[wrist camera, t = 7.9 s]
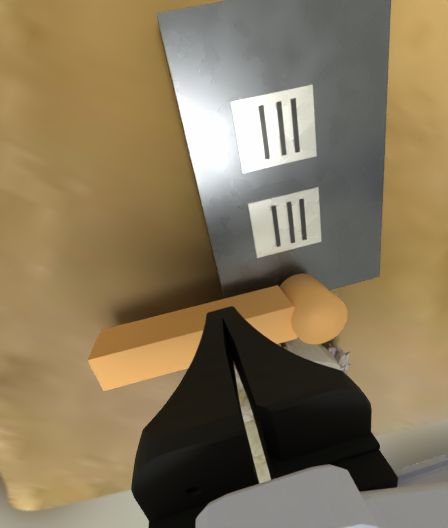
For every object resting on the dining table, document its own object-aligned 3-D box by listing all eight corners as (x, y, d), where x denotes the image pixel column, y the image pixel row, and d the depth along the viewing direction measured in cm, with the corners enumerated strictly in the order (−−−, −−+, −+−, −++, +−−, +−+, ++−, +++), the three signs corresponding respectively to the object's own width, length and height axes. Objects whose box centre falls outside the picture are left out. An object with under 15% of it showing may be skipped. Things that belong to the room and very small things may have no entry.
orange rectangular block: (319, 268, 19) (347, 290, 16) (321, 308, 21) (347, 336, 17) (98, 324, 18) (81, 359, 15) (116, 363, 19) (104, 403, 16)
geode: (269, 276, 28) (167, 376, 27) (297, 281, 18) (143, 434, 18) (377, 389, 28) (279, 489, 28) (460, 450, 19) (313, 605, 18)
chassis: (373, -14, 15) (402, -39, 13) (367, 269, 23) (385, 280, 21) (158, 27, 15) (155, 5, 13) (225, 307, 22) (230, 322, 20)
